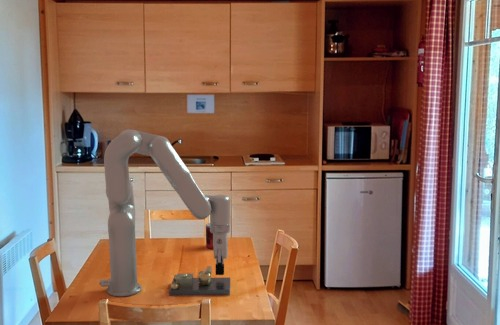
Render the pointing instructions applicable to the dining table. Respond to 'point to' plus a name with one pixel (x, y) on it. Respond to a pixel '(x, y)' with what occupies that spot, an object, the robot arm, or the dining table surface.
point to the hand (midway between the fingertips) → (219, 274)
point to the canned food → (209, 237)
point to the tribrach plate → (198, 286)
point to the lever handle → (205, 276)
